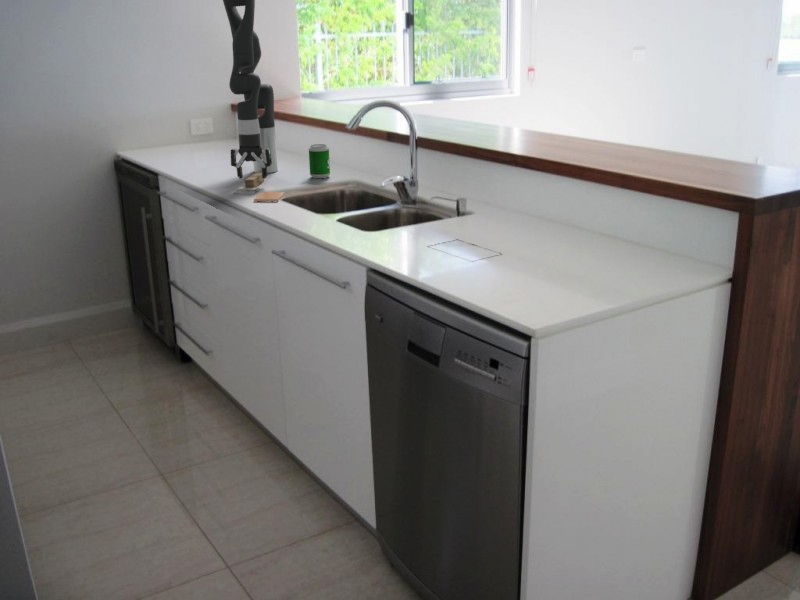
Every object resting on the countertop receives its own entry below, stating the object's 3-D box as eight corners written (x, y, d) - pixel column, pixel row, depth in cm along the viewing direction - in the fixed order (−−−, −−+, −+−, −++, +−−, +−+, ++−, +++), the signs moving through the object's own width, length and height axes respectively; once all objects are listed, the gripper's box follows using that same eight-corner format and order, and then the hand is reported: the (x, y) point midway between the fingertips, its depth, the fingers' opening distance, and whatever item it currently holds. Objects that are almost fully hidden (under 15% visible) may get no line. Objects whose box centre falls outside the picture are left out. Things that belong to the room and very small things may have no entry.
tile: (261, 192, 270) (253, 199, 260) (285, 192, 269) (277, 199, 259) (262, 196, 270) (254, 203, 260) (285, 196, 270) (278, 203, 259)
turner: (250, 182, 293) (249, 172, 292) (269, 182, 292) (268, 172, 291) (233, 194, 272) (232, 184, 271) (253, 194, 271) (252, 184, 270)
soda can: (326, 179, 295) (325, 147, 291) (307, 178, 296) (305, 146, 292) (332, 175, 302) (331, 144, 298) (313, 175, 303) (312, 143, 299)
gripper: (271, 130, 280) (274, 176, 286) (232, 130, 281) (236, 176, 287) (266, 133, 273) (269, 180, 279) (226, 133, 274) (230, 180, 280)
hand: (252, 178), depth 283 cm, fingers open, 8 cm apart
